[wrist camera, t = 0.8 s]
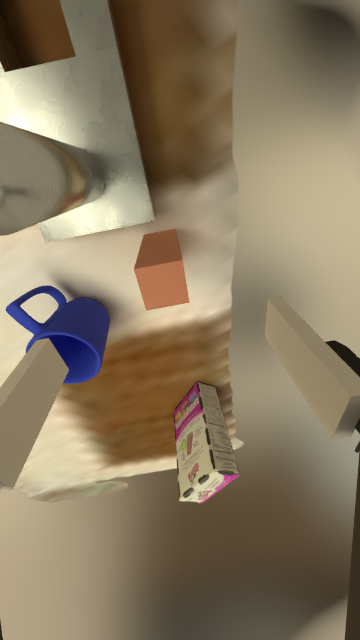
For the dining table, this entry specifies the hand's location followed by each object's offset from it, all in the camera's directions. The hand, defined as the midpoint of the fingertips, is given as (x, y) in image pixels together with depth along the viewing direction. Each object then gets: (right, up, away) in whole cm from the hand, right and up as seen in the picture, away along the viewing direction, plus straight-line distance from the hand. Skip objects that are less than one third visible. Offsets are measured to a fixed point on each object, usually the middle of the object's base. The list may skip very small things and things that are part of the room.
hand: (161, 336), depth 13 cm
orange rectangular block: (-1, +11, +15) cm, 19 cm away
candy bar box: (+4, -16, +34) cm, 38 cm away
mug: (-14, +3, +19) cm, 24 cm away
